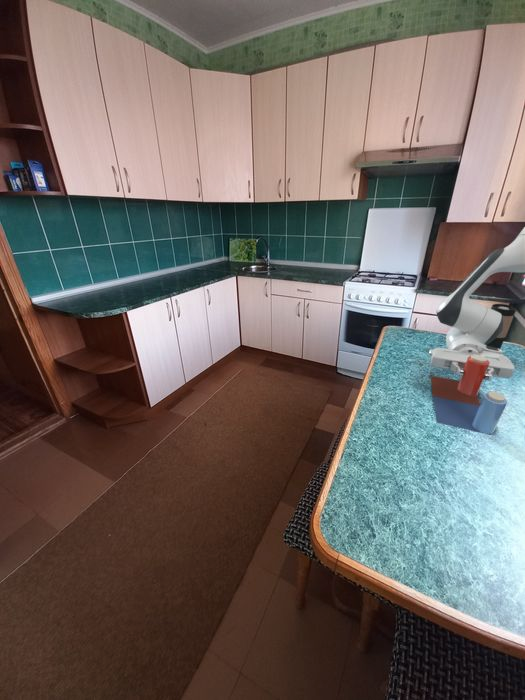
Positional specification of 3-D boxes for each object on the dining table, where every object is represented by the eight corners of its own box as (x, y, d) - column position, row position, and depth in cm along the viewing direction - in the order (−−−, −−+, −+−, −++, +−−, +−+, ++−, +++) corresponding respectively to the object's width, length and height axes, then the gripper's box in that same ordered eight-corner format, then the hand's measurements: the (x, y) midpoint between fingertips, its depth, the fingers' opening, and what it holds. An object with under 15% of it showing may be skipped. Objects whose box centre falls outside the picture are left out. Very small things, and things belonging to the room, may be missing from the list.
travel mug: (472, 352, 120) (489, 306, 111) (479, 347, 125) (495, 302, 115) (494, 359, 115) (513, 311, 106) (500, 353, 119) (519, 307, 110)
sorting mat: (472, 384, 100) (472, 383, 100) (490, 436, 78) (491, 435, 78) (429, 376, 105) (430, 375, 104) (436, 424, 83) (436, 422, 82)
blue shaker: (491, 424, 81) (505, 392, 76) (496, 436, 77) (511, 403, 72) (470, 419, 83) (483, 388, 78) (473, 431, 79) (487, 399, 74)
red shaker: (476, 387, 84) (488, 355, 79) (479, 397, 80) (492, 363, 75) (456, 384, 86) (467, 352, 81) (458, 393, 82) (470, 360, 77)
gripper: (430, 339, 93) (434, 359, 82) (508, 350, 86) (524, 373, 75) (426, 357, 96) (429, 377, 85) (501, 368, 89) (515, 393, 78)
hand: (474, 375), depth 80 cm, fingers closed on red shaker, 5 cm apart
